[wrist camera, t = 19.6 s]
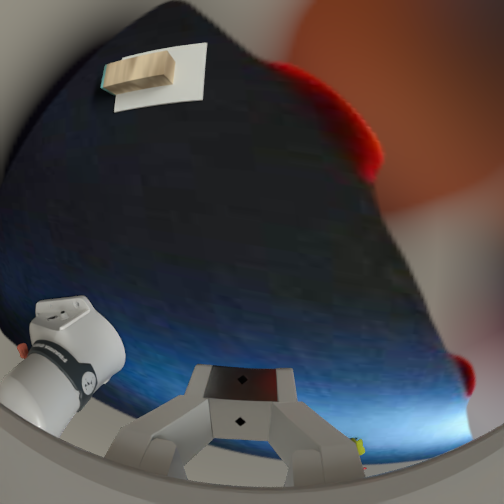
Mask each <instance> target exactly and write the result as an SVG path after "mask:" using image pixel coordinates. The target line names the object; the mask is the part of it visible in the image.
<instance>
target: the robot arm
mask: <svg viewBox="0 0 504 504" xmlns="http://www.w3.org/2000/svg"><path fill="white" fill-rule="evenodd" d="M78 303H79V304H78ZM29 331H30V338H31V343H32V347H31V349H30V350H29V352H28V348H27V345H26V344H25V343H22V344H20V345H18V346H17V349H18V351H19V353H20V356H21V358H24V360H23V361H22V362H21V363H19V364H18V365H17V366H16V367H15V368H14V369H12V370H11V371H10V372H9V373H8V374H7V375H5V376H4V377H3V379H2V381H1V384H0V504H504V423H503V424H501V425H500V426H498V427H496V428H495V429H493V430H491V431H489V432H488V433H486V434H484V435H482V436H480V437H478V438H476V439H474V440H472V441H470V442H468V443H466V444H464V445H462V446H460V447H458V448H455V449H453V450H451V451H448V452H446V453H444V454H441V455H439V456H436V457H433V458H431V459H428V460H425V461H422V462H420V463H417V464H414V465H410V466H407V467H404V468H401V469H397V470H394V471H390V472H386V473H382V474H378V475H373V476H369V477H365V474H364V470H363V467H362V463H361V460H360V457H359V453H358V450H357V447H356V443H354V442H353V441H352V440H350V439H349V438H347V437H346V436H345V435H344V434H342V433H341V432H340V431H338V430H337V429H336V428H334V427H333V426H332V425H331V424H329V423H328V422H327V421H325V420H324V419H323V418H322V417H320V416H319V415H318V414H317V413H315V412H314V411H313V410H312V409H311V408H309V407H308V406H307V405H306V404H305V403H303V402H298V401H297V394H296V388H295V381H294V374H293V369H292V368H276V369H253V368H238V367H226V366H215V365H213V366H212V365H204V364H197V365H196V366H195V368H194V371H193V374H192V376H191V379H190V381H189V384H188V387H187V389H186V392H185V395H184V396H183V395H179V396H177V397H175V398H174V399H172V400H170V401H169V402H167V403H165V404H163V405H162V406H160V407H158V408H156V409H155V410H153V411H151V412H149V413H147V414H146V415H144V416H142V417H140V418H138V419H136V420H134V421H133V422H131V423H129V424H127V425H125V426H123V427H121V428H120V430H119V432H118V433H117V435H116V437H115V439H114V440H113V442H112V444H111V446H110V448H109V449H108V451H107V453H106V455H105V457H104V458H103V457H101V456H98V455H96V454H93V453H91V452H88V451H86V450H84V449H81V448H79V447H77V446H75V445H72V444H70V443H68V442H66V441H64V440H62V439H60V438H59V437H60V435H61V434H62V432H63V430H64V429H65V427H66V426H67V424H68V423H69V421H70V420H71V419H72V417H73V416H74V414H75V413H76V412H79V411H81V410H82V408H83V407H84V406H85V405H86V403H87V402H88V401H89V400H90V398H91V396H92V394H93V393H94V392H95V391H96V390H97V389H98V388H99V387H100V386H101V385H102V384H105V383H107V382H108V381H109V379H110V377H111V376H112V375H114V374H115V373H117V372H118V371H120V370H121V369H122V367H123V366H124V363H125V350H124V346H123V343H122V341H121V339H120V337H119V335H118V333H117V332H116V330H115V329H114V327H113V326H112V325H111V324H110V323H109V322H108V321H107V320H106V319H105V318H104V317H103V316H102V315H100V314H99V313H98V312H97V311H96V310H95V309H94V307H93V306H92V304H91V303H90V302H89V300H88V299H87V298H86V297H85V296H74V297H65V298H57V299H48V300H40V301H39V302H37V304H36V318H34V319H33V320H32V321H31V323H30V328H29ZM213 438H224V439H242V440H258V441H268V442H269V443H270V445H271V446H272V447H273V449H274V450H275V451H276V453H277V454H278V455H279V456H280V458H281V459H282V460H283V462H284V463H285V464H286V465H287V466H288V468H289V469H288V472H287V476H286V480H285V484H284V487H247V486H231V485H220V484H211V483H203V482H197V481H191V480H188V479H187V476H186V473H185V470H184V467H183V466H184V465H185V464H187V463H188V462H189V461H190V460H191V459H192V458H193V457H194V456H195V455H197V454H198V453H199V452H200V451H201V450H202V449H203V448H204V447H205V446H206V445H207V444H208V443H209V442H211V441H212V440H213Z"/></svg>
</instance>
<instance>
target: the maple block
mask: <svg viewBox="0 0 504 504" xmlns="http://www.w3.org/2000/svg"><path fill="white" fill-rule="evenodd" d="M174 71H175V61H174V59H173V58H172V56H171V55H170V54H169V52H168V51H167V50H166V51H161V52H156V53H151V54H146V55H141V56H137V57H133V58H129V59H125V60H121V61H118V62H114V63H111V64H107V65H105V67H104V72H103V78H102V83H101V89H103V90H105V91H107V92H109V93H110V94H112V95H117V94H122V93H126V92H131V91H136V90H141V89H147V88H152V87H159V86H165V85H172V84H173V80H174Z"/></svg>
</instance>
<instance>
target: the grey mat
mask: <svg viewBox="0 0 504 504" xmlns="http://www.w3.org/2000/svg"><path fill="white" fill-rule="evenodd" d="M166 50H167V51H168V52H169V54H170V55H171V56H172V58H173V59H174V61H175V71H174V80H173V84H172V85H165V86H159V87H152V88H147V89H141V90H136V91H131V92H126V93H122V94H117V95H116V100H115V108H114V112H115V113H116V112H121V111H126V110H131V109H137V108H143V107H149V106H156V105H163V104H171V103H180V102H190V101H202V100H203V88H204V74H205V62H206V50H207V43H200V44H191V45H184V46H177V47H171V48H165V49H159V50H154V51H149V52H145V53H140V54H136V55H132V56H128V57H124V58H122V60H125V59H129V58H133V57H137V56H141V55H146V54H151V53H156V52H161V51H166Z"/></svg>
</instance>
